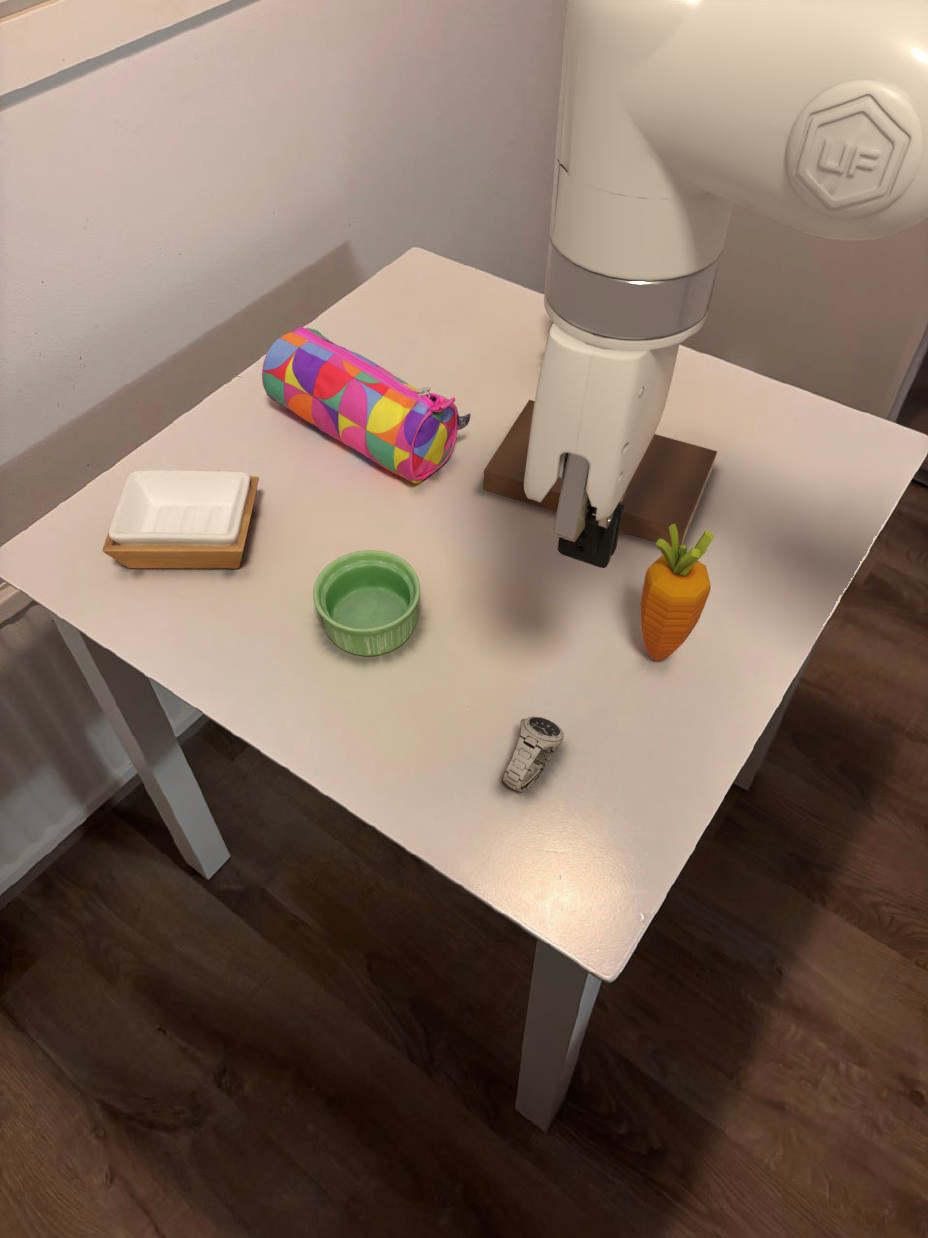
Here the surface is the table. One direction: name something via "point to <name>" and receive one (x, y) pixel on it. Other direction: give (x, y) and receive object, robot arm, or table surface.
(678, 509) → the cutting board
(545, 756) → the wristwatch
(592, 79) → the robot arm
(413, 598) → the ramekin
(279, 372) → the pencil case
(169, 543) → the soap dish
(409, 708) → the table surface
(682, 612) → the carrot
